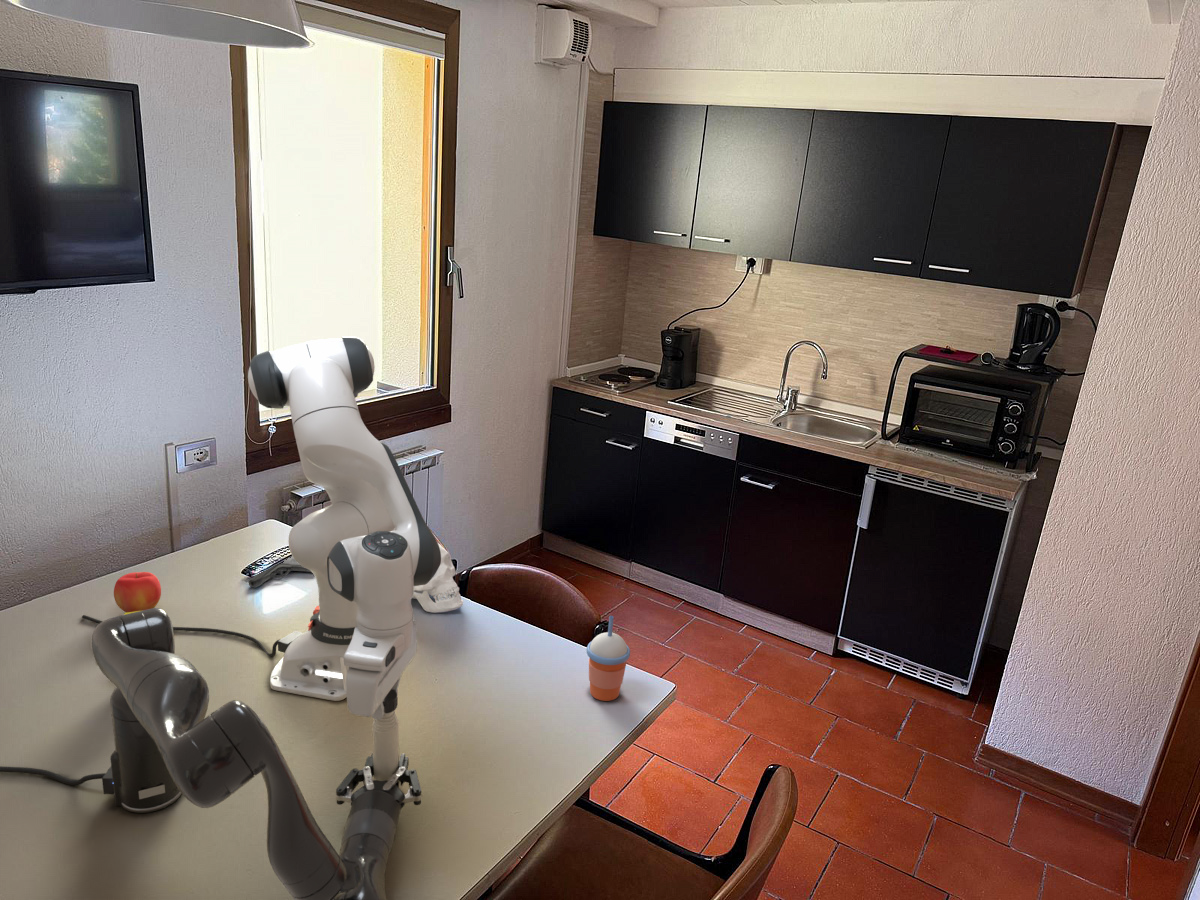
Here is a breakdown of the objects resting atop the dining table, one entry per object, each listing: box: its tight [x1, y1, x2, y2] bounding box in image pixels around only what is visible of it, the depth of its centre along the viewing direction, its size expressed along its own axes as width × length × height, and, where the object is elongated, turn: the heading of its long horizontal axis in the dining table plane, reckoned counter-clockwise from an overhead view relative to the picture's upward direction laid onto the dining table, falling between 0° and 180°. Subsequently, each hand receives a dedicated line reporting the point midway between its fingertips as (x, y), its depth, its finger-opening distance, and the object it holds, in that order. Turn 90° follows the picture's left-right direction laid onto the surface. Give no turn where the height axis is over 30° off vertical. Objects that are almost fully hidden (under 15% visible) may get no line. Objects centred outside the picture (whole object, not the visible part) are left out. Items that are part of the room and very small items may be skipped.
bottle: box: [371, 710, 400, 781], centre depth 142 cm, size 4×4×20 cm
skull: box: [412, 542, 465, 614], centre depth 211 cm, size 13×22×16 cm, turn 67°
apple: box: [113, 571, 162, 613], centre depth 195 cm, size 10×10×10 cm
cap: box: [383, 689, 399, 714], centre depth 140 cm, size 4×4×2 cm
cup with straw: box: [586, 615, 631, 702], centre depth 178 cm, size 9×9×18 cm
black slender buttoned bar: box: [248, 556, 312, 588], centre depth 220 cm, size 2×18×12 cm
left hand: (388, 758), depth 146 cm, fingers closed on bottle, 4 cm apart
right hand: (384, 707), depth 140 cm, fingers closed on cap, 4 cm apart
